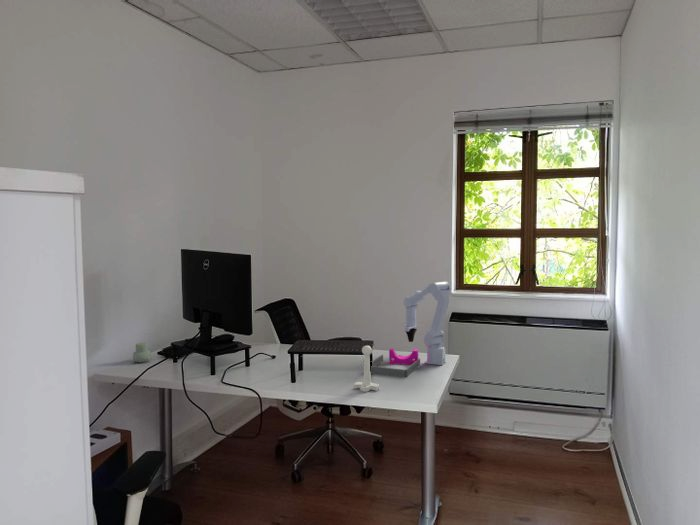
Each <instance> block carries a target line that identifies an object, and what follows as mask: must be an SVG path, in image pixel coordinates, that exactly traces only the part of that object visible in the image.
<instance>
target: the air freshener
mask: <svg viewBox="0 0 700 525" xmlns="http://www.w3.org/2000/svg"><path fill="white" fill-rule="evenodd" d="M151 356H152V353H151V351H150V350H149V349H148V343H147V342H138V343H135V351H134V352H133V354H132V361H133V362H135V363H147V362H148V361H151V359H152V358H151Z"/></svg>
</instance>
